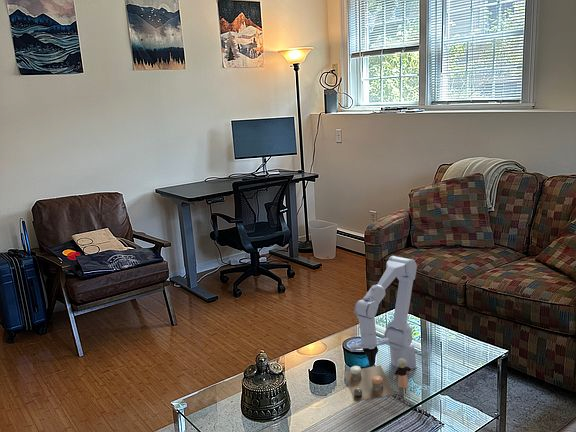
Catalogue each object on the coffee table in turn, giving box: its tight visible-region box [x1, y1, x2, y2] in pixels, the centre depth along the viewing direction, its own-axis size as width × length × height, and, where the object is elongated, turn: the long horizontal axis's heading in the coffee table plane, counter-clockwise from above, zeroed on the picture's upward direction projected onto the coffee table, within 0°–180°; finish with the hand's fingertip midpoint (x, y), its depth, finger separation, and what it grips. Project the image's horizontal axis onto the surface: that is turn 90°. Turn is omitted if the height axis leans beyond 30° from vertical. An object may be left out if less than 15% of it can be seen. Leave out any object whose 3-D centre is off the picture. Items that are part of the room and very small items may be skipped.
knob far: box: [349, 365, 362, 374], centre depth 210 cm, size 4×4×4 cm
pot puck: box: [354, 388, 362, 398], centre depth 198 cm, size 3×3×3 cm
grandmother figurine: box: [392, 358, 413, 389], centre depth 200 cm, size 8×4×13 cm, turn 117°
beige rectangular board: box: [343, 364, 396, 402], centre depth 206 cm, size 15×20×4 cm
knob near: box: [372, 376, 383, 385], centre depth 201 cm, size 4×4×4 cm
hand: (371, 364), depth 203 cm, fingers closed
